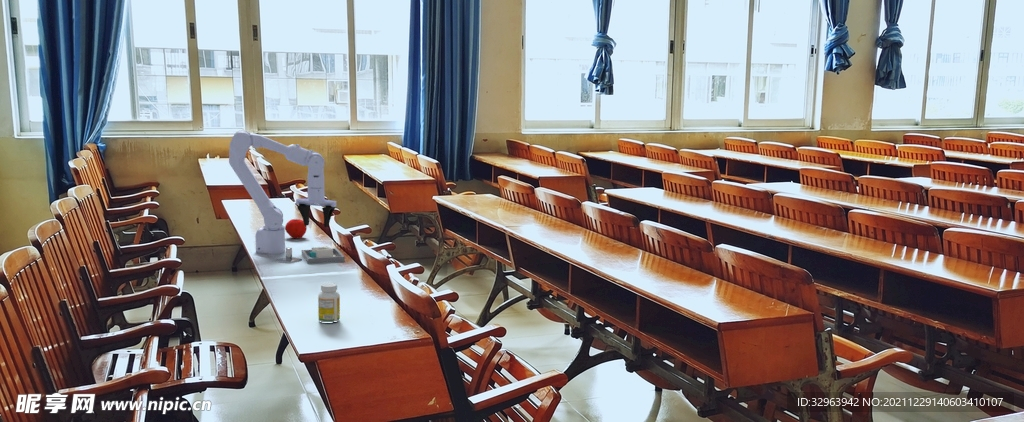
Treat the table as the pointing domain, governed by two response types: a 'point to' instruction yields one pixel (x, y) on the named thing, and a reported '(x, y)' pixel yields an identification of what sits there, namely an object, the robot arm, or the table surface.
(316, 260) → the tray
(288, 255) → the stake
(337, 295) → the supplement bottle
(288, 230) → the apple
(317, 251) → the collar
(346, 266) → the table surface
